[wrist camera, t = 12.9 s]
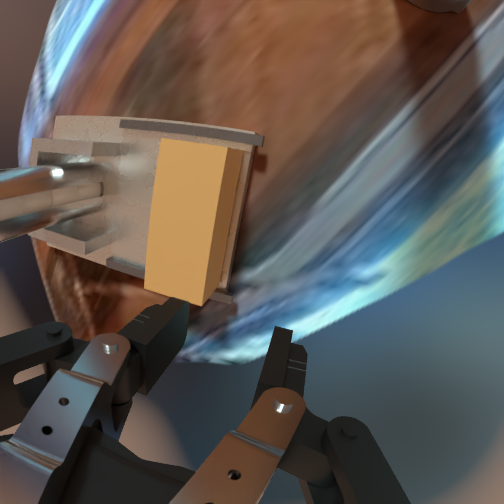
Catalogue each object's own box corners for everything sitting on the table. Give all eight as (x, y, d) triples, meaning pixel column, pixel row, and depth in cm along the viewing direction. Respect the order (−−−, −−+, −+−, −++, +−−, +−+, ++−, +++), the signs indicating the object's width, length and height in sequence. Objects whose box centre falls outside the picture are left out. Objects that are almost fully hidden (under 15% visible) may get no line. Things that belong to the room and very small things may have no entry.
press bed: (267, 135, 30) (255, 127, 24) (235, 298, 35) (218, 325, 29) (63, 116, 34) (29, 113, 28) (53, 242, 39) (22, 254, 33)
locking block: (243, 150, 29) (227, 147, 24) (219, 284, 33) (201, 306, 28) (186, 141, 30) (161, 138, 25) (168, 270, 34) (144, 288, 29)
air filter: (94, 224, 35) (-87, 297, 11) (63, 196, 35) (-108, 245, 12) (114, 178, 33) (-93, 222, 9) (80, 152, 33) (-108, 174, 9)
